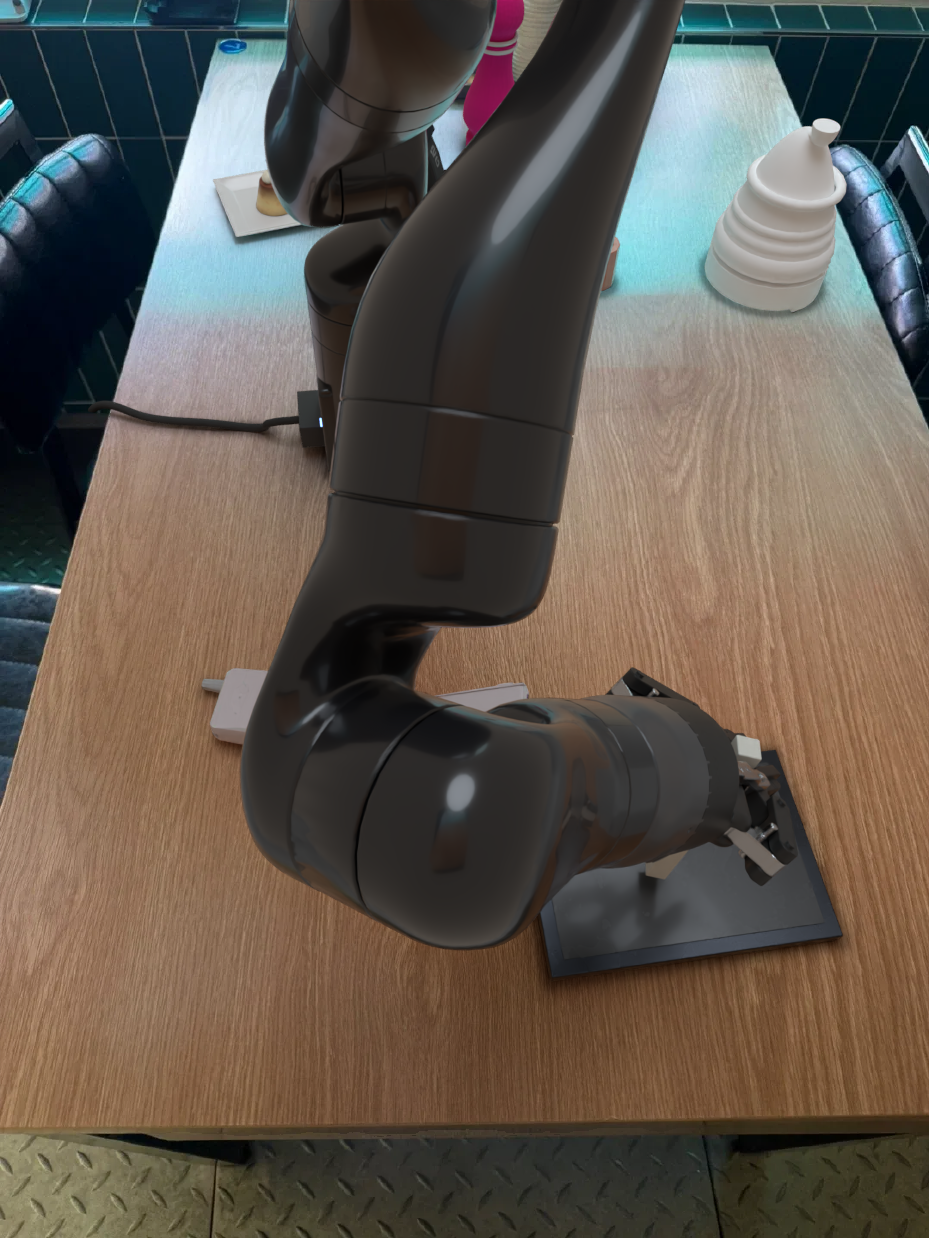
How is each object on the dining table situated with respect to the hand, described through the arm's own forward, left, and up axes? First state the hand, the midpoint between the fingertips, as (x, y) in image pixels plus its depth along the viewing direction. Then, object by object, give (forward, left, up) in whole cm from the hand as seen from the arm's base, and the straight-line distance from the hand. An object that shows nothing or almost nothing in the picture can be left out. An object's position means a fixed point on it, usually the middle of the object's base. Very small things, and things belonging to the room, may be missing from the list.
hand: (750, 764), depth 57 cm
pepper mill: (-1, +92, -13) cm, 93 cm away
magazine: (-15, +72, -13) cm, 75 cm away
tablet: (-3, -1, -13) cm, 13 cm away
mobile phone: (-24, +12, -13) cm, 30 cm away
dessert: (-28, +82, -13) cm, 88 cm away
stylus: (-4, -2, -10) cm, 12 cm away
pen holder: (+6, +64, -13) cm, 66 cm away
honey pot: (+25, +63, -13) cm, 69 cm away
